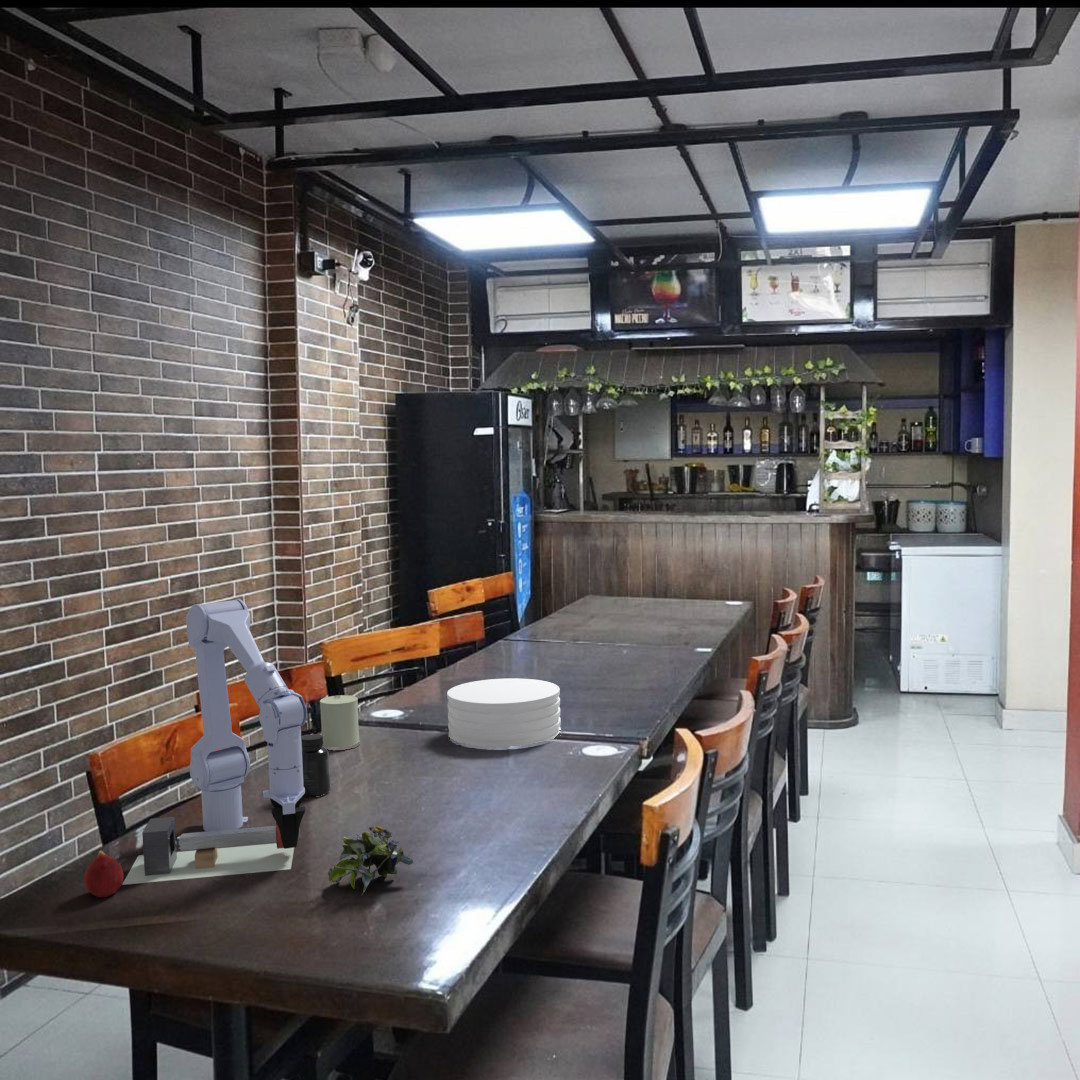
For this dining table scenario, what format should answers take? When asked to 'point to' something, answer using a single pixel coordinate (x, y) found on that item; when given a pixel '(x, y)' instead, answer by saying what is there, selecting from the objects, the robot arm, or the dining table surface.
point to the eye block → (159, 846)
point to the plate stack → (504, 712)
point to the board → (219, 864)
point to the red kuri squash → (103, 876)
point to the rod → (230, 838)
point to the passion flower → (368, 857)
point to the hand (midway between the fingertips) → (289, 841)
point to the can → (339, 720)
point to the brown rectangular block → (205, 858)
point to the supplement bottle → (315, 766)
